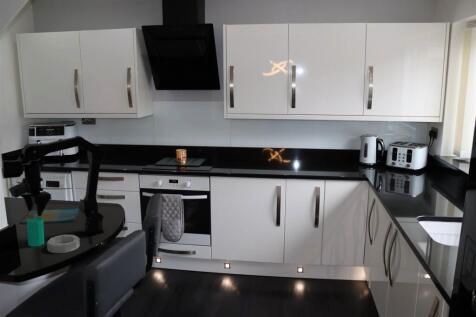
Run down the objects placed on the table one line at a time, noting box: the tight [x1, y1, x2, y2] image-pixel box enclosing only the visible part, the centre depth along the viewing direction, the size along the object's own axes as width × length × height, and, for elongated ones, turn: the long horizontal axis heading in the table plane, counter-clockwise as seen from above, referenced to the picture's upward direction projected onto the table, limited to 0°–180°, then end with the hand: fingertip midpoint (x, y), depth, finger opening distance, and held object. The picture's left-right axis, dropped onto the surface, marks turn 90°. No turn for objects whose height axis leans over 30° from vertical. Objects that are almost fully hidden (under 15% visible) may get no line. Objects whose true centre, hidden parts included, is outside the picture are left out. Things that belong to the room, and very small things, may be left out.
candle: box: [26, 217, 45, 247], centre depth 161 cm, size 6×6×12 cm
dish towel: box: [20, 207, 81, 225], centre depth 193 cm, size 17×23×2 cm
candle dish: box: [46, 234, 81, 254], centre depth 159 cm, size 12×12×3 cm
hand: (34, 213), depth 160 cm, fingers open, 9 cm apart
